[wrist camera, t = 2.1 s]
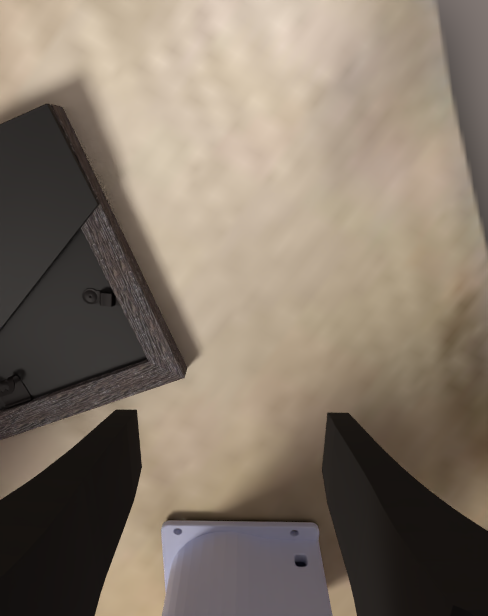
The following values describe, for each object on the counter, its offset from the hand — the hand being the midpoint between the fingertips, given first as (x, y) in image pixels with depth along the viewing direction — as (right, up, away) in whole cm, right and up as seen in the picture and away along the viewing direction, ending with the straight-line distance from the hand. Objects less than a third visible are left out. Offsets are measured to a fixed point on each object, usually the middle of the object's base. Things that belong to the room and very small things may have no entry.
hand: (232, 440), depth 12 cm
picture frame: (-13, +4, +9) cm, 17 cm away
